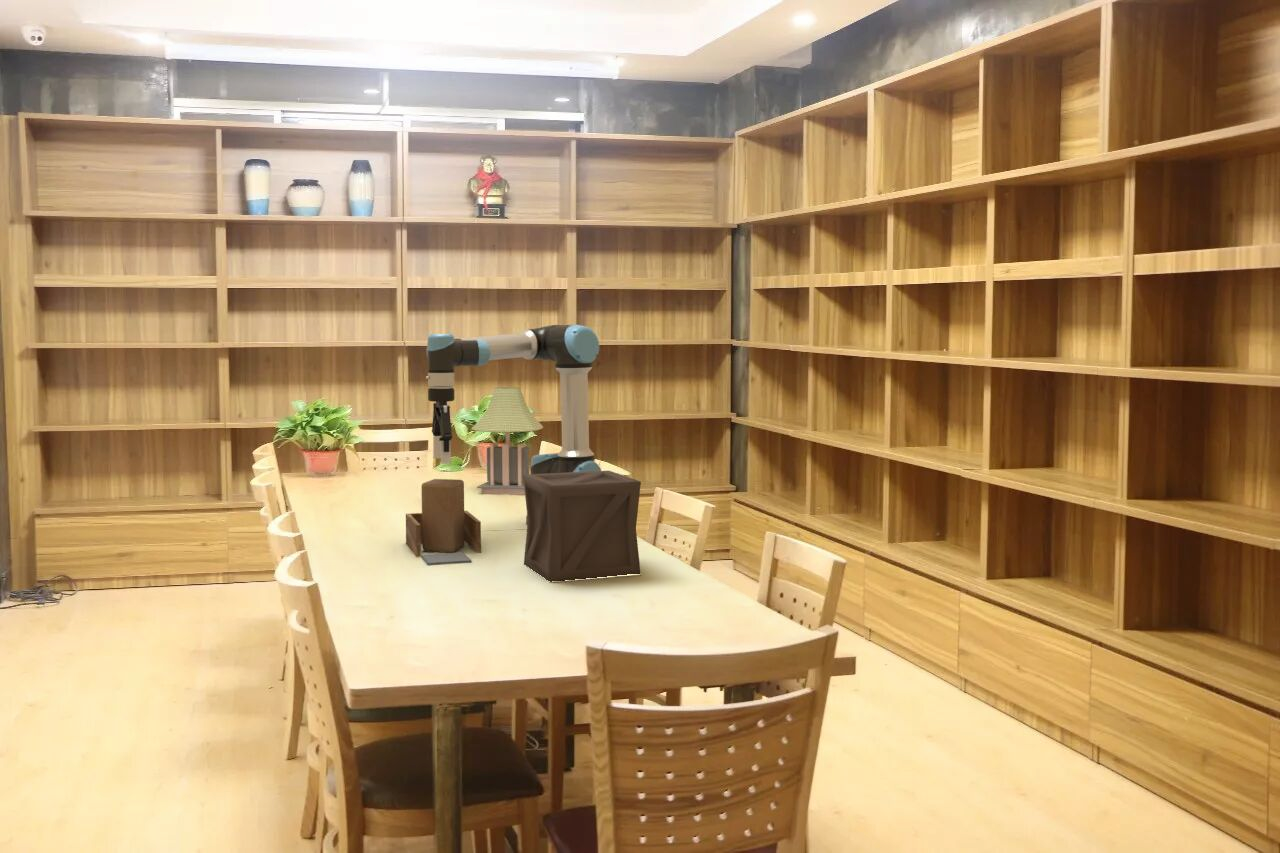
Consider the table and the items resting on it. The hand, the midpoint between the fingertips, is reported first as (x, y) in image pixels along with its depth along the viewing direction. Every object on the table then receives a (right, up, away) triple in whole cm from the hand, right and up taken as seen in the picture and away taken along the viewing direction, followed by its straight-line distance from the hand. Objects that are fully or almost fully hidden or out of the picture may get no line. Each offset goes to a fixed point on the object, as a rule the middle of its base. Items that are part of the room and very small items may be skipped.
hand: (442, 460), depth 362 cm
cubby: (0, -26, +4) cm, 26 cm away
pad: (+3, -27, -13) cm, 30 cm away
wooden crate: (+42, -29, -27) cm, 57 cm away
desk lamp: (+7, -15, +119) cm, 120 cm away
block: (0, -26, +2) cm, 26 cm away
